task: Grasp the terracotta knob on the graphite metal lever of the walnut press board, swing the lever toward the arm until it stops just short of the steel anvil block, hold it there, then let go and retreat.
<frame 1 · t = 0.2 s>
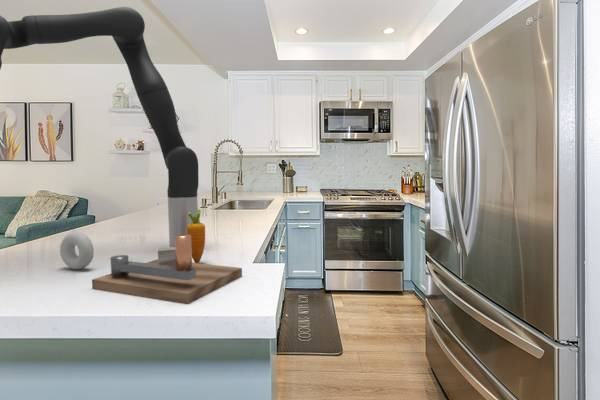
carrot: (197, 264, 102), on the table
donut: (78, 270, 97), on the table
press board: (170, 281, 86), on the table
lever: (150, 256, 79), point 7 cm above the table, hinge at 0.0°
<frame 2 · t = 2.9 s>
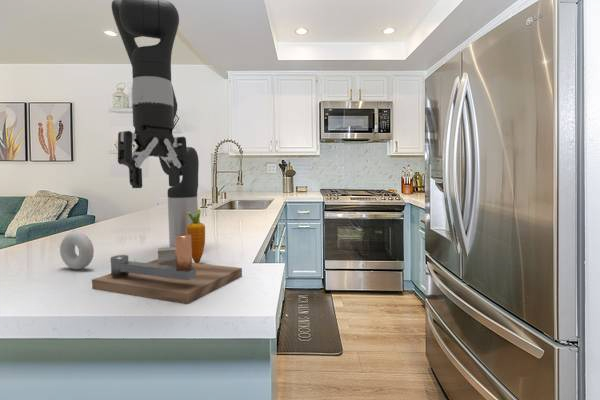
hand: (156, 187, 73), 22 cm above the table, tool pointing down, fingers open, 8 cm apart
nothing on the table moved.
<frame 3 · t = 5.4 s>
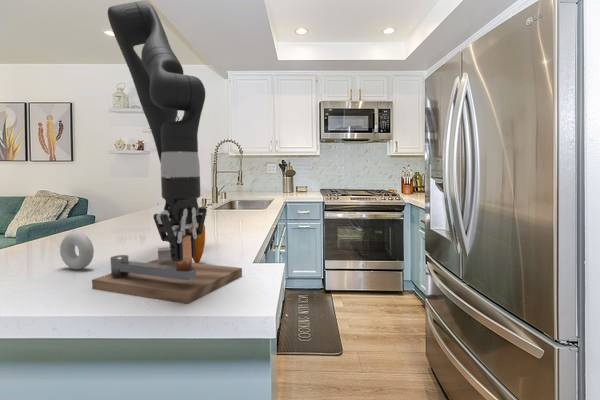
hand: (183, 258, 76), 8 cm above the table, tool pointing down, fingers closed on lever, 3 cm apart
lever: (150, 256, 79), point 7 cm above the table, hinge at 0.0°, touching gripper
everything else where it was.
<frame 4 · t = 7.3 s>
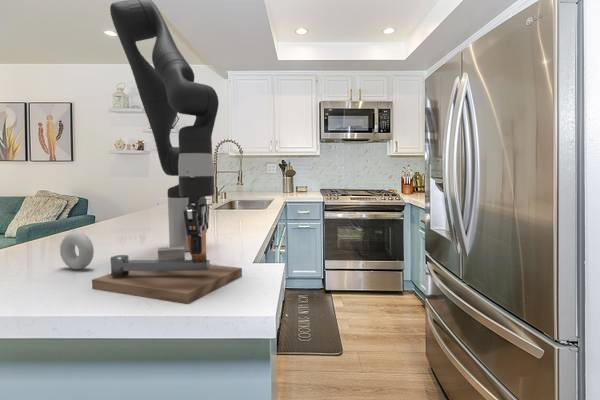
hand: (198, 251, 83), 8 cm above the table, tool pointing down, fingers closed on lever, 3 cm apart
lever: (159, 252, 83), point 7 cm above the table, hinge at 21.7°, touching gripper
everything else where it was.
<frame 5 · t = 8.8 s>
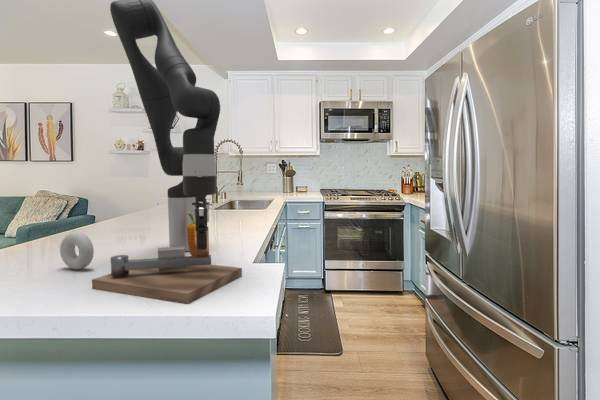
hand: (201, 247, 87), 8 cm above the table, tool pointing down, fingers closed on lever, 3 cm apart
lever: (162, 250, 85), point 7 cm above the table, hinge at 36.7°, touching gripper
everything else where it was.
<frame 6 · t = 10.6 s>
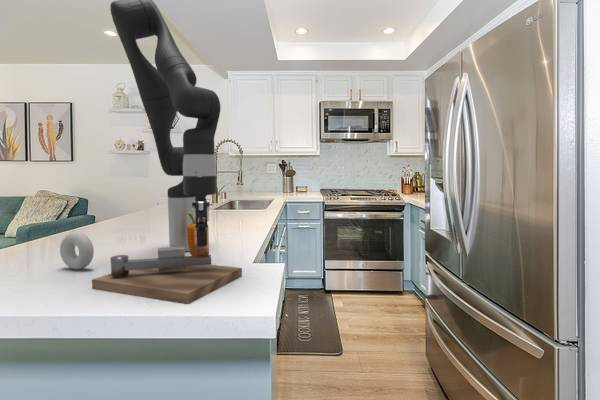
hand: (201, 242, 88), 9 cm above the table, tool pointing down, fingers open, 8 cm apart
lever: (162, 250, 85), point 7 cm above the table, hinge at 37.0°
everything else where it was.
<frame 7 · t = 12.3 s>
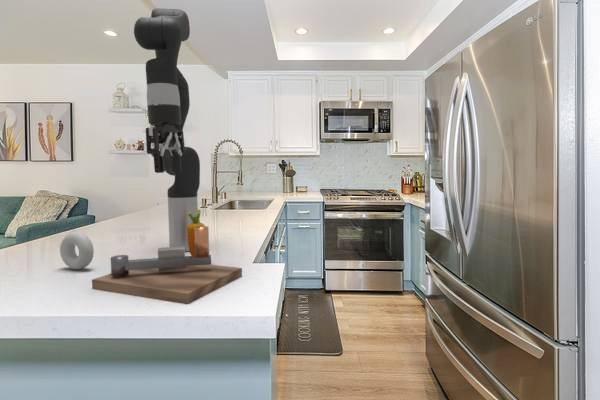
hand: (168, 171, 91), 25 cm above the table, tool pointing down, fingers open, 8 cm apart
nothing on the table moved.
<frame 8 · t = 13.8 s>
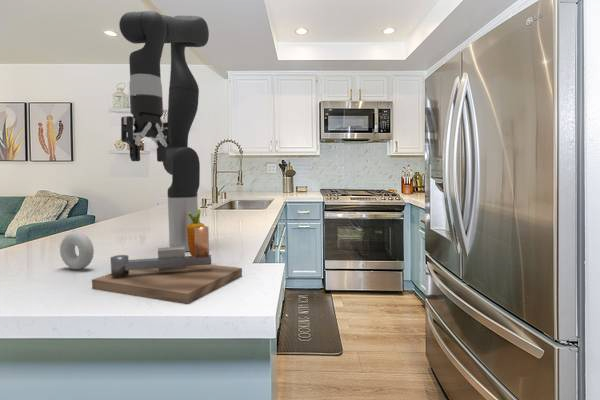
hand: (149, 161, 93), 28 cm above the table, tool pointing down, fingers open, 8 cm apart
nothing on the table moved.
at the end: lever at +37° (first picture: +0°); the gripper is holding nothing; carrot moved 0.2 cm from its start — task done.
